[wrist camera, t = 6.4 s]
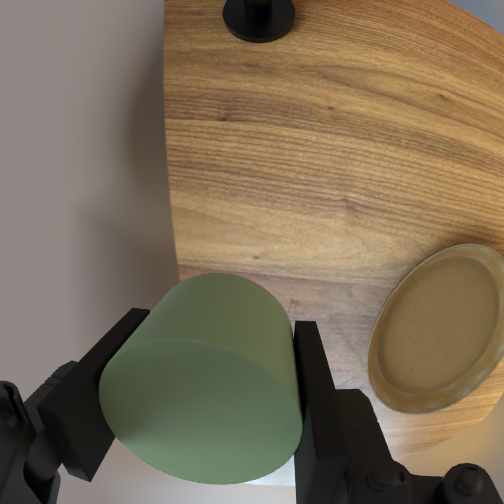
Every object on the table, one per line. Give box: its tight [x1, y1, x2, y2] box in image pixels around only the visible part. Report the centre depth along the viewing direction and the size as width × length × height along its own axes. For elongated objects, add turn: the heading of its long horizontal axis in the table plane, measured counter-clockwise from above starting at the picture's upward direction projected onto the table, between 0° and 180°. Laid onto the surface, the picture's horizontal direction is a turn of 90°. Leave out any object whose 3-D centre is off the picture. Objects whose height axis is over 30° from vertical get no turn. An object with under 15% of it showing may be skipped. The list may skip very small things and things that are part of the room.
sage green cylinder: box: [99, 273, 304, 485], centre depth 10 cm, size 6×6×5 cm
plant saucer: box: [366, 243, 504, 415], centre depth 33 cm, size 24×24×3 cm
